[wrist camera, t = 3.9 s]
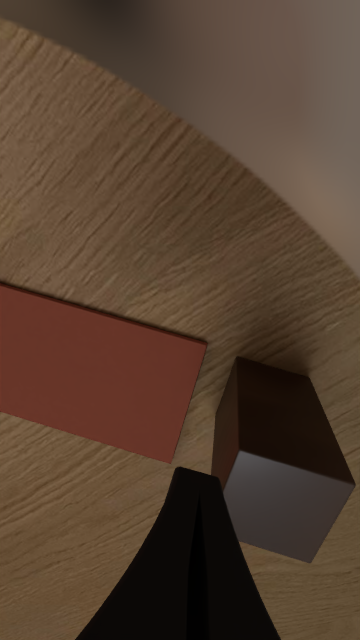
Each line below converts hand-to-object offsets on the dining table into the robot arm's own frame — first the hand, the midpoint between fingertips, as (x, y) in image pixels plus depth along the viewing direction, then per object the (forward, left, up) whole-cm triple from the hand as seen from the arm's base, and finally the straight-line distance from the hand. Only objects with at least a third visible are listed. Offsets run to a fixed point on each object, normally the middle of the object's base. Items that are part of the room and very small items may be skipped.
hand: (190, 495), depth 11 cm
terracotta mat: (+23, +4, -10) cm, 26 cm away
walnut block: (-4, +2, -10) cm, 11 cm away
